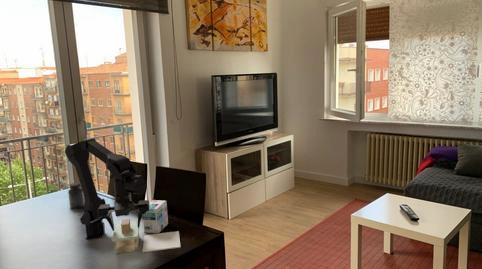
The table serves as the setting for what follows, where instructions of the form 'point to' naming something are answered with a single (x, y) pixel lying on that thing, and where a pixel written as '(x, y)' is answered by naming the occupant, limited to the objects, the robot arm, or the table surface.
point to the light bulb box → (155, 217)
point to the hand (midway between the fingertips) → (126, 229)
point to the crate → (126, 245)
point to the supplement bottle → (76, 196)
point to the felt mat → (161, 241)
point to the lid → (125, 231)
